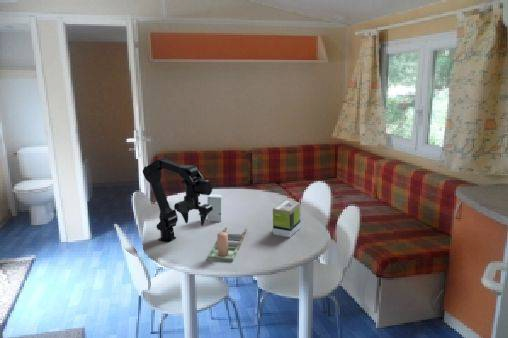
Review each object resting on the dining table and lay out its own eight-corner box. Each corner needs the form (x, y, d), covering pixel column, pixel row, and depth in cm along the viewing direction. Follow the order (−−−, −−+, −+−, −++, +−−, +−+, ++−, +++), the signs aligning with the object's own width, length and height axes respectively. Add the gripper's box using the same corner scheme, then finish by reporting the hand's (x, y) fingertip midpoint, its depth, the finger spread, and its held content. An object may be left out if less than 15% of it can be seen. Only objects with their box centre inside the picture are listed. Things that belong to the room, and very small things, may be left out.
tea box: (284, 224, 213) (284, 199, 209) (300, 228, 208) (301, 202, 205) (272, 234, 200) (272, 207, 197) (290, 238, 195) (290, 210, 192)
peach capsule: (217, 252, 179) (216, 232, 177) (227, 251, 180) (226, 231, 178) (218, 257, 175) (218, 236, 172) (229, 255, 176) (228, 235, 173)
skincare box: (207, 221, 218) (206, 196, 215) (209, 217, 224) (208, 193, 221) (221, 221, 218) (221, 197, 214) (223, 218, 224) (222, 193, 220)
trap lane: (225, 229, 207) (225, 226, 207) (246, 230, 205) (246, 228, 205) (207, 259, 173) (207, 257, 172) (233, 261, 171) (233, 258, 171)
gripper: (165, 195, 177) (168, 227, 180) (198, 199, 168) (200, 232, 172) (180, 189, 187) (182, 219, 190) (212, 192, 178) (214, 224, 181)
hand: (194, 224), depth 183 cm, fingers open, 9 cm apart
